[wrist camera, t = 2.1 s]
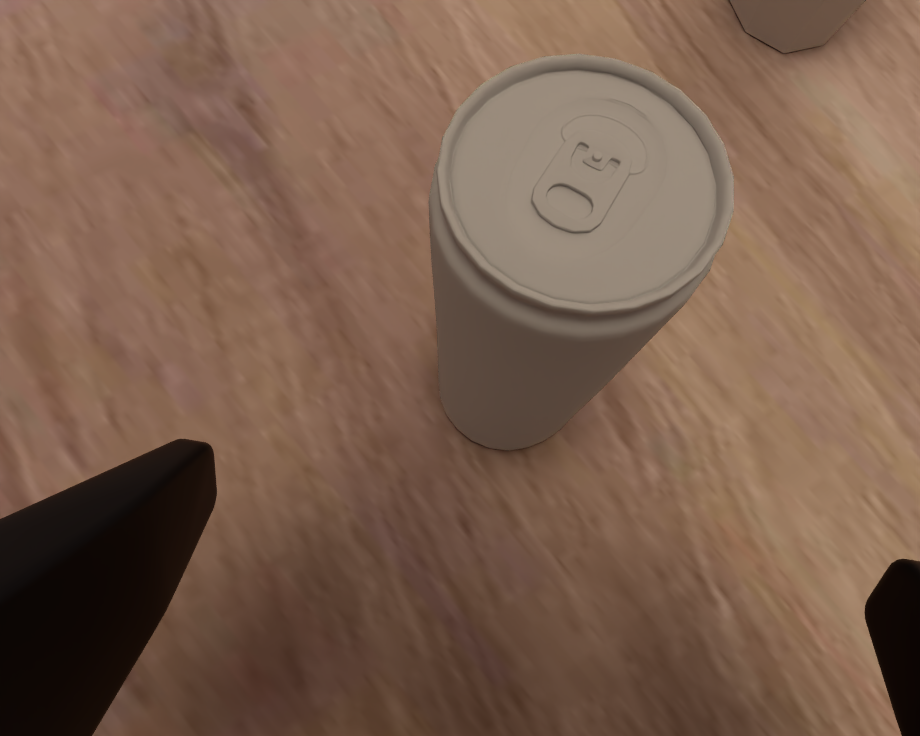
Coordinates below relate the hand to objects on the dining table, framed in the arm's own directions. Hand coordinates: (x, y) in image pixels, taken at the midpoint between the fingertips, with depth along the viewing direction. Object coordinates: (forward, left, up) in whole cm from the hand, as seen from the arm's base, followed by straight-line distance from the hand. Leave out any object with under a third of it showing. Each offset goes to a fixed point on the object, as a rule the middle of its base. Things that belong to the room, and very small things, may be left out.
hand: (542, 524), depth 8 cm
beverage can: (+4, -4, -12) cm, 13 cm away
